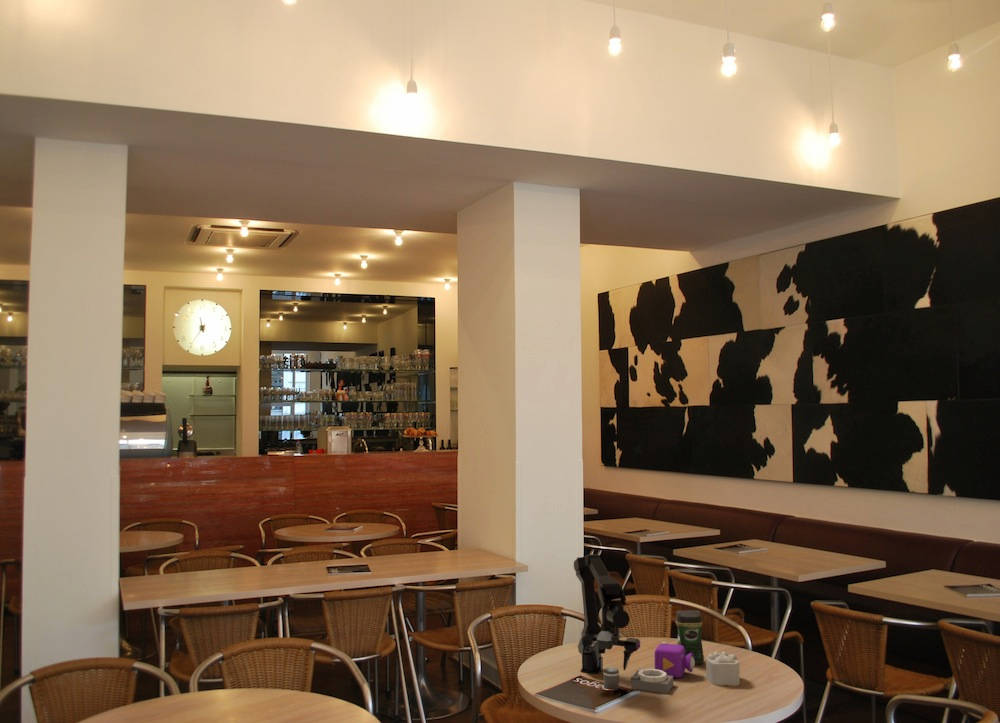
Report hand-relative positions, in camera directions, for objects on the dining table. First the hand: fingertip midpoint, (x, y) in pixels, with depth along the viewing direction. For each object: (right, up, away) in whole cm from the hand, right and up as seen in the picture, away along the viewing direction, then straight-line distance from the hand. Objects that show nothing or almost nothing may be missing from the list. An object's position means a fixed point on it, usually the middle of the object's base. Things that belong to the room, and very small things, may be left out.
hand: (611, 668), depth 275 cm
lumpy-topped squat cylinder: (+39, -7, +8) cm, 41 cm away
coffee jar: (+32, -8, +28) cm, 43 cm away
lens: (0, -7, 0) cm, 7 cm away
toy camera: (+24, -8, +14) cm, 29 cm away
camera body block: (+14, -7, +1) cm, 15 cm away
